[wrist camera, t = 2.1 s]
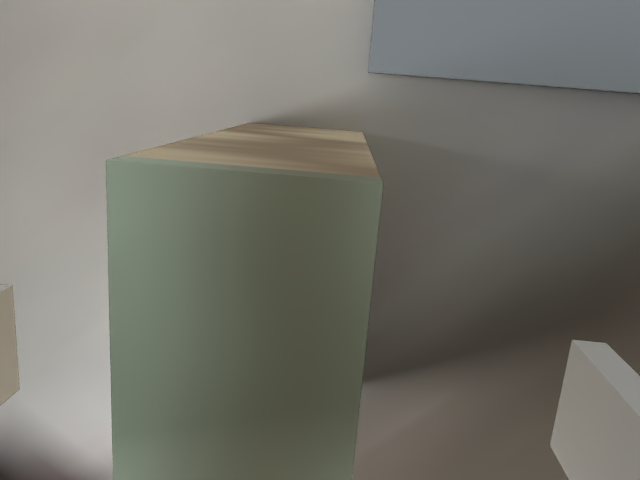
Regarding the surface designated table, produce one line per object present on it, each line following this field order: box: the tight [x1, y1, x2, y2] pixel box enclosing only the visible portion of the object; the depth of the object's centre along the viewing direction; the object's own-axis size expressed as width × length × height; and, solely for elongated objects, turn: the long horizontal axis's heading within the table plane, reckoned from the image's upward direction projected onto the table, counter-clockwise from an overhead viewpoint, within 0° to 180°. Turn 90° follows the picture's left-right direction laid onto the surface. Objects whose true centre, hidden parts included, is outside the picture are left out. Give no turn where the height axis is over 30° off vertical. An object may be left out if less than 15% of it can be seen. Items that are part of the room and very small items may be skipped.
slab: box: [106, 123, 383, 480], centre depth 15 cm, size 4×10×12 cm, turn 176°
